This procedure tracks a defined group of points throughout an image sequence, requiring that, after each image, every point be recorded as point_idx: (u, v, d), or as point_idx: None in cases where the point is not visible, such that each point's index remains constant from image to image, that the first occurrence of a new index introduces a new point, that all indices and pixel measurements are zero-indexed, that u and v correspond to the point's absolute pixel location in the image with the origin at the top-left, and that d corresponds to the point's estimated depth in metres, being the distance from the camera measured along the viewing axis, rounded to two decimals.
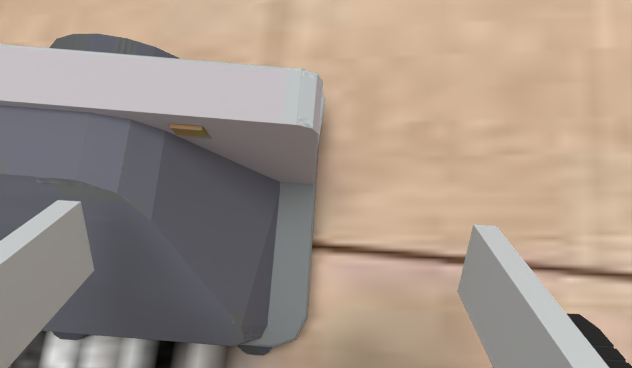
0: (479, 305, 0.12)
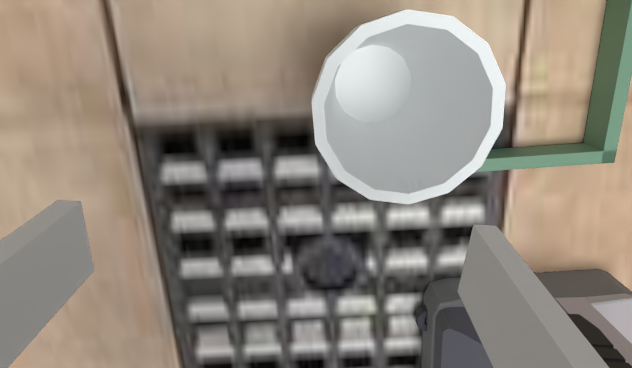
0: (479, 305, 0.12)
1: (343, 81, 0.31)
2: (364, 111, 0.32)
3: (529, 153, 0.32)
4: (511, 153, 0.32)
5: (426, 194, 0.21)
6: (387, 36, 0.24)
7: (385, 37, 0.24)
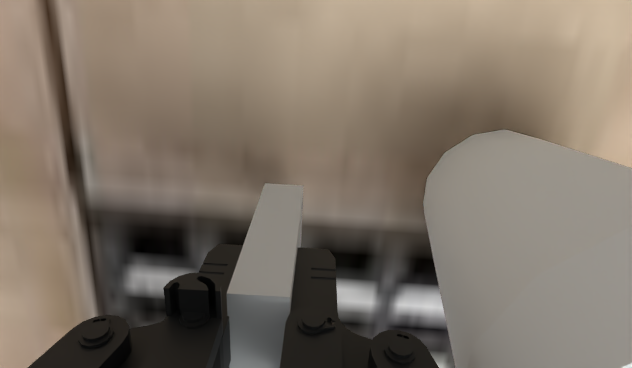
0: None
1: None
2: None
3: None
4: None
5: None
6: None
7: None
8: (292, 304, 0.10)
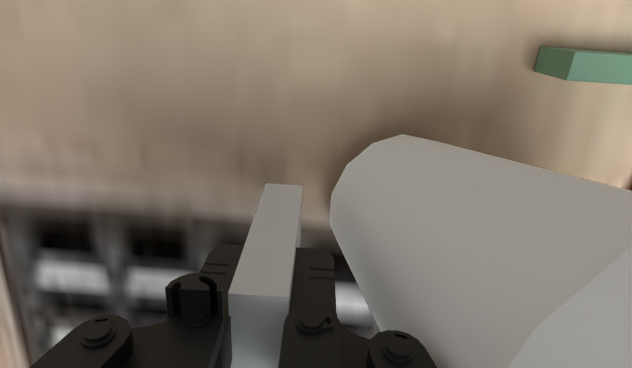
0: None
1: None
2: None
3: None
4: None
5: None
6: None
7: None
8: (291, 304, 0.10)
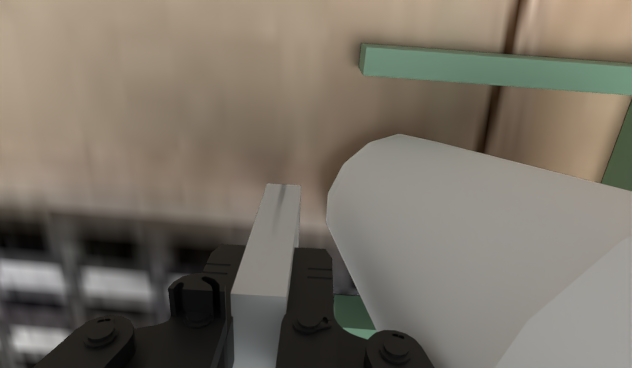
0: None
1: None
2: None
3: None
4: None
5: None
6: None
7: None
8: (288, 304, 0.10)
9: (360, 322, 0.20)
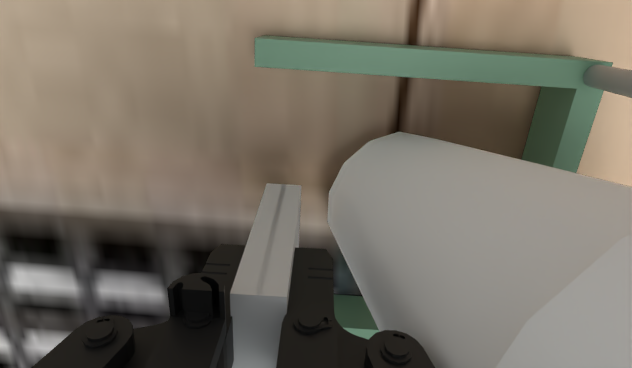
0: None
1: None
2: None
3: None
4: (361, 315, 0.20)
5: None
6: None
7: None
8: (289, 304, 0.10)
9: None
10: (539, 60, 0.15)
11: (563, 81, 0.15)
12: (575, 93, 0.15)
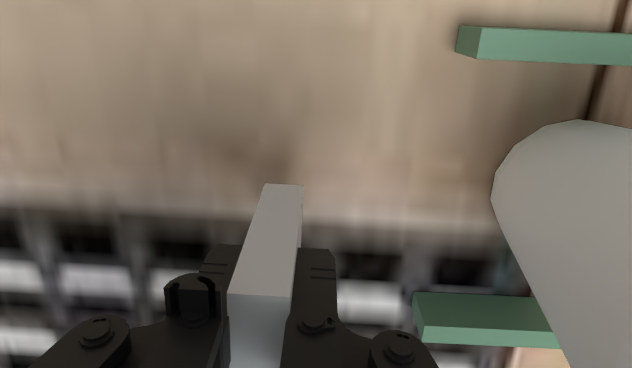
0: None
1: None
2: None
3: None
4: (529, 316, 0.20)
5: None
6: None
7: None
8: (292, 304, 0.10)
9: (448, 319, 0.19)
10: None
11: None
12: None
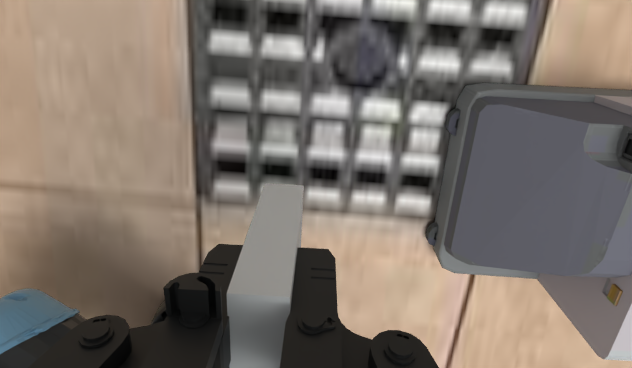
0: None
1: None
2: None
3: None
4: None
5: None
6: None
7: None
8: (292, 304, 0.10)
9: None
10: None
11: None
12: None
